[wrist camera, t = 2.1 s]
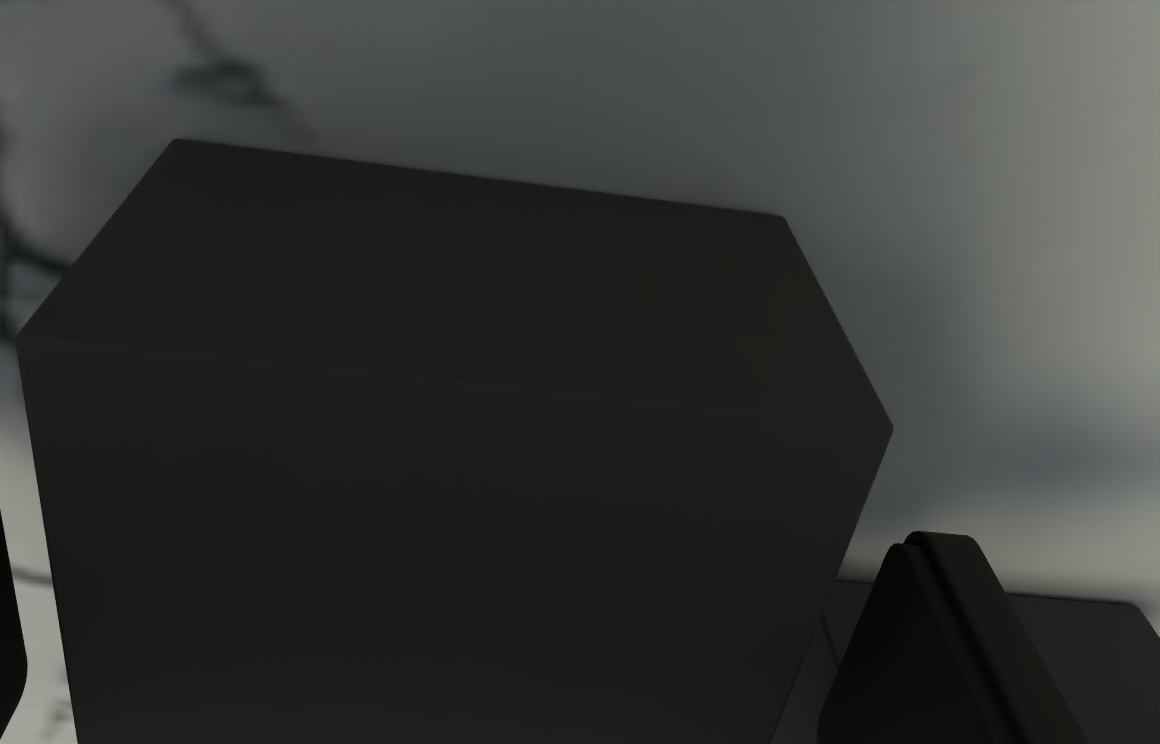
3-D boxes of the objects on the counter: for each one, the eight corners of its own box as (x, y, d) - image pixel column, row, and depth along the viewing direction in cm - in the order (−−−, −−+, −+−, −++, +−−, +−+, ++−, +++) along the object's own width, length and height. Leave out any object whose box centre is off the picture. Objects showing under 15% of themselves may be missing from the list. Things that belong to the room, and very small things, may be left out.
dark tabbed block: (171, 136, 11) (10, 336, 7) (785, 215, 11) (897, 427, 8) (204, 718, 15) (115, 1003, 12) (634, 743, 16) (665, 1016, 13)
